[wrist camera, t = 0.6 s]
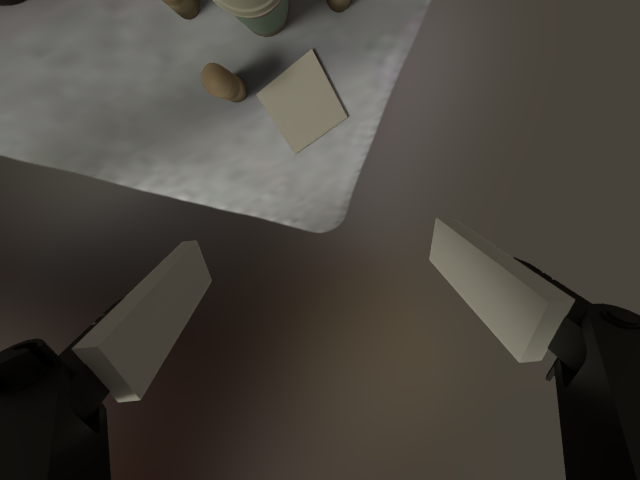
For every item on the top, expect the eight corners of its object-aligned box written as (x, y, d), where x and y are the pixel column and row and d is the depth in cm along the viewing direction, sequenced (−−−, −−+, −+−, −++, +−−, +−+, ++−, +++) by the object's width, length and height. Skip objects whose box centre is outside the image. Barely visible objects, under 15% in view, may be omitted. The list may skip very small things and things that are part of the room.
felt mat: (256, 94, 31) (255, 94, 31) (311, 49, 29) (311, 48, 29) (295, 154, 35) (295, 154, 34) (346, 117, 33) (347, 117, 32)
